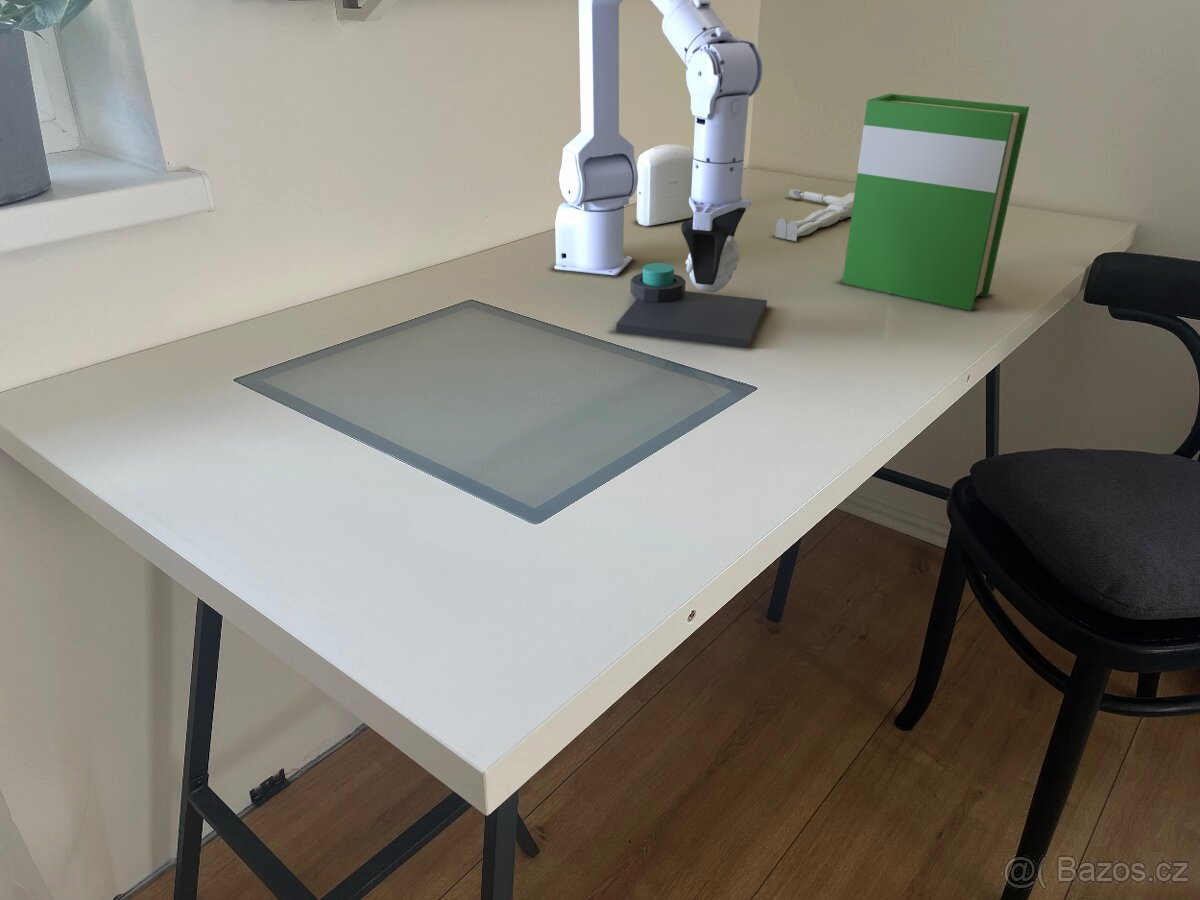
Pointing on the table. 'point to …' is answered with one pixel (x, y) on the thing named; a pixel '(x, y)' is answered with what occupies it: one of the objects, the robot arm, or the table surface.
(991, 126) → the hardback book
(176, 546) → the table surface
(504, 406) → the table surface
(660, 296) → the scale
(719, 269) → the white rounded lumpy piece
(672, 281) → the button
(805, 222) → the artist's mannequin
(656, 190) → the photo printer
